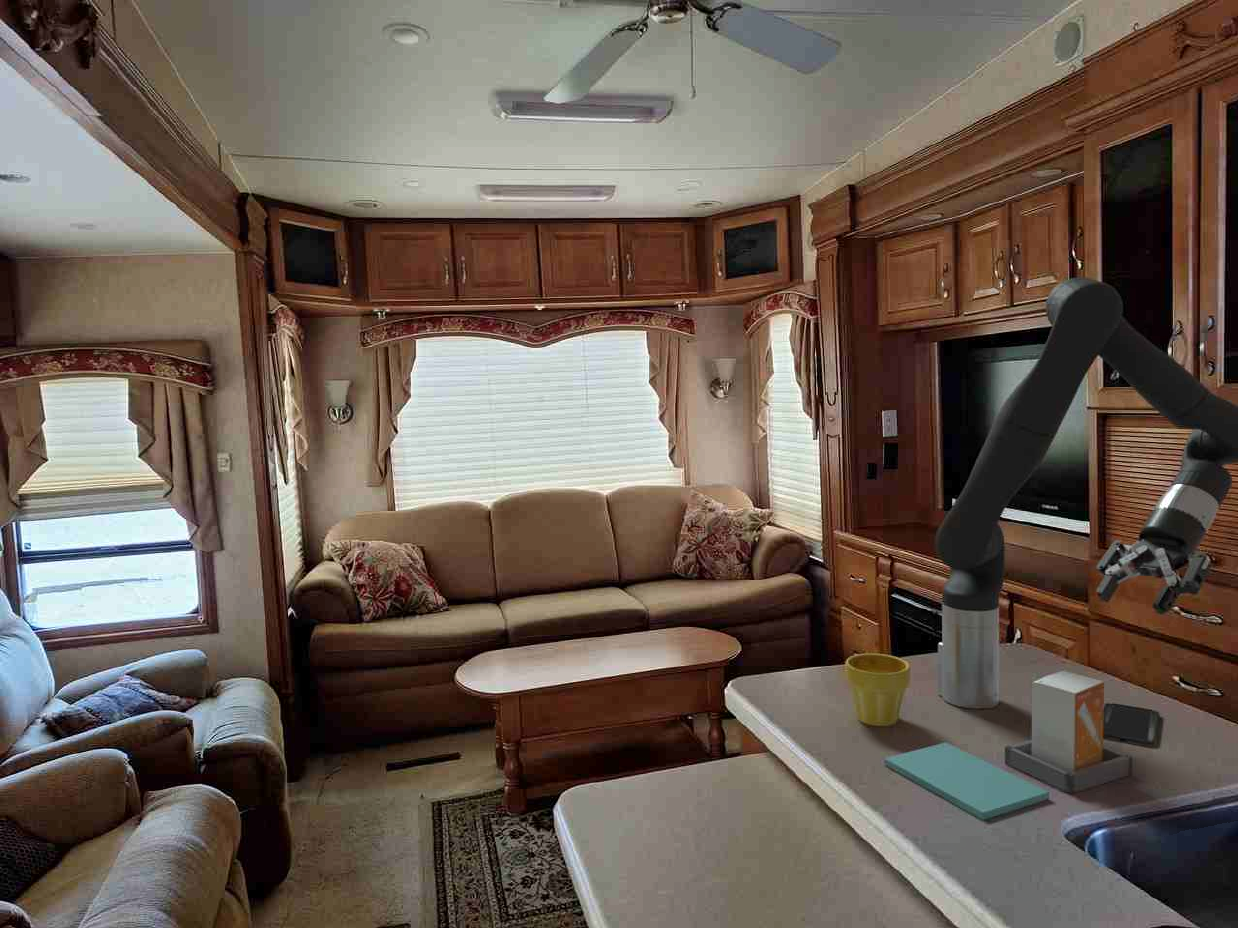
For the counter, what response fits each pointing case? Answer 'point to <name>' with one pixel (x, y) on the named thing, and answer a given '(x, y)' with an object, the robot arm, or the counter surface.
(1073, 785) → the tray frame
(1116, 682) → the counter surface
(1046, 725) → the small box
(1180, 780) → the counter surface
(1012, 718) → the counter surface
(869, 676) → the plant pot
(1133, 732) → the phone
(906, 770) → the board
